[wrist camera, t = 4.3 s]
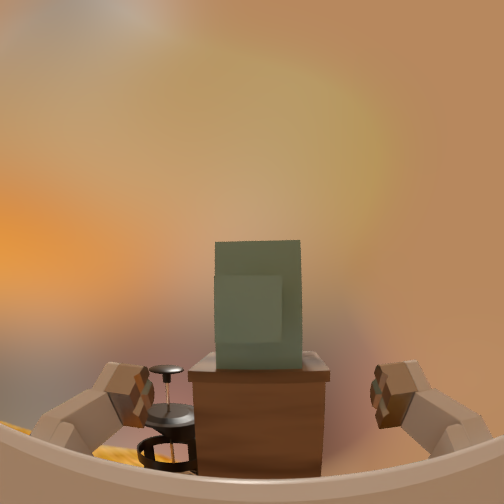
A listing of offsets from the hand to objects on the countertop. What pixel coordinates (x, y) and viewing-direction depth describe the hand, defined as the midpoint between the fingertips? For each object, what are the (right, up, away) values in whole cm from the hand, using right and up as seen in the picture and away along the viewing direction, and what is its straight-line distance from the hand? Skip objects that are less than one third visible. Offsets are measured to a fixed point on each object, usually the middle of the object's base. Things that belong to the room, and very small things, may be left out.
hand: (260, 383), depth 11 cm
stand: (+1, -30, +10) cm, 31 cm away
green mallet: (0, -3, +10) cm, 11 cm away
